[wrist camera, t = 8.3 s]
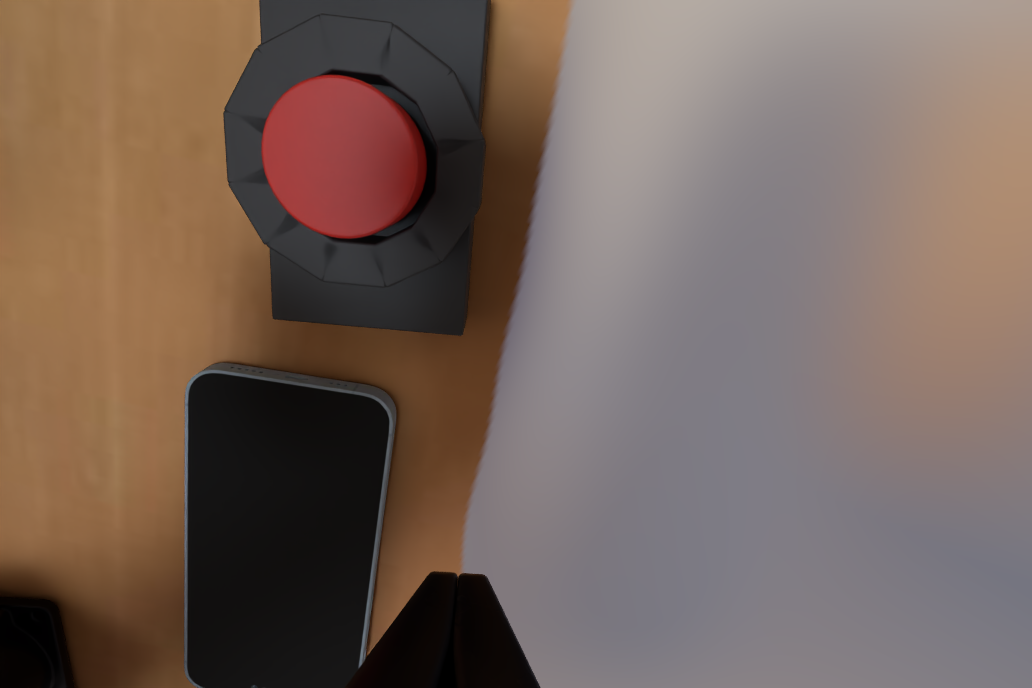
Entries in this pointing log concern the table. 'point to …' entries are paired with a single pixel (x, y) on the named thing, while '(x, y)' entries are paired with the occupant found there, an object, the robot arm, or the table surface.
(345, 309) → the switch block
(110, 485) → the table surface
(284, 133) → the button
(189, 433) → the smartphone
